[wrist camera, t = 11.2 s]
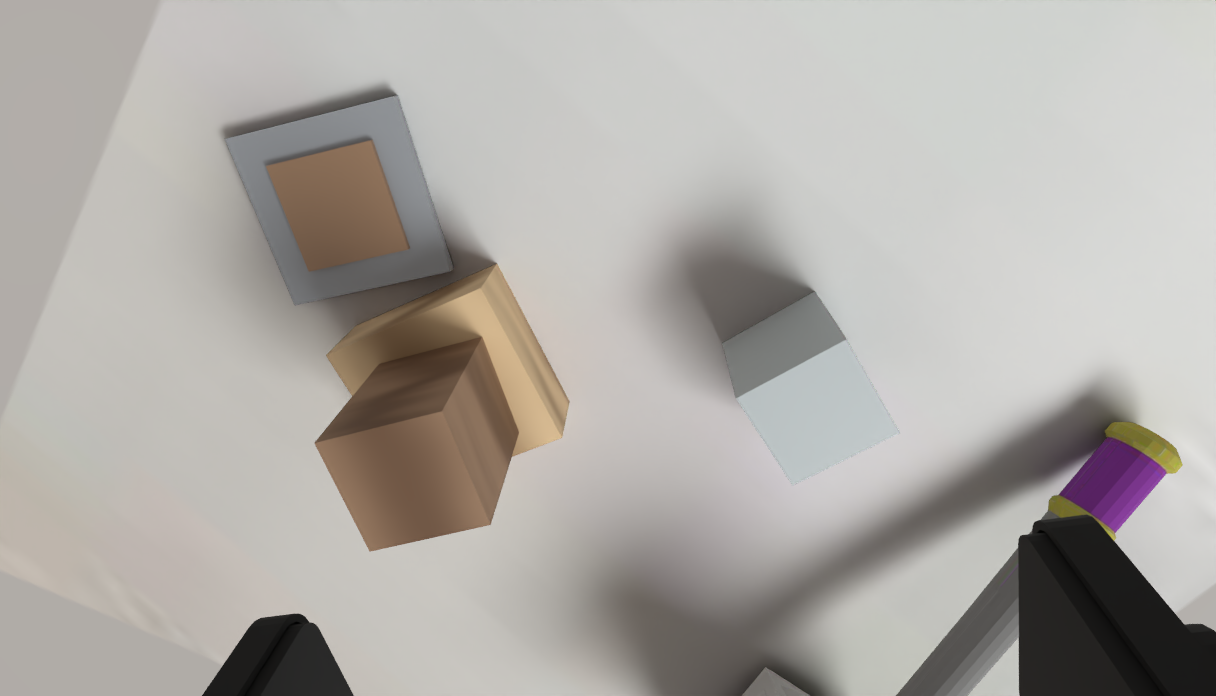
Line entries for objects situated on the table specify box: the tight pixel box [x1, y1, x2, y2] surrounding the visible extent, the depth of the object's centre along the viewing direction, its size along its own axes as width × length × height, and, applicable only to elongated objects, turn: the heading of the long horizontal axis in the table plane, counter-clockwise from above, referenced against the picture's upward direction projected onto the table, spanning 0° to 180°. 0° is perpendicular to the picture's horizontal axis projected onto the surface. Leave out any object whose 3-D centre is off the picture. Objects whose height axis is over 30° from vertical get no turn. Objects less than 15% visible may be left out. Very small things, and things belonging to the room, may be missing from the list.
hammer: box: [742, 422, 1182, 696], centre depth 36 cm, size 15×8×30 cm
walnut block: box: [315, 337, 519, 551], centre depth 30 cm, size 5×5×7 cm
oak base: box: [326, 264, 569, 456], centre depth 35 cm, size 8×8×4 cm
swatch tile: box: [225, 95, 454, 305], centre depth 33 cm, size 8×8×1 cm
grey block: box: [722, 291, 900, 485], centre depth 33 cm, size 5×5×6 cm
